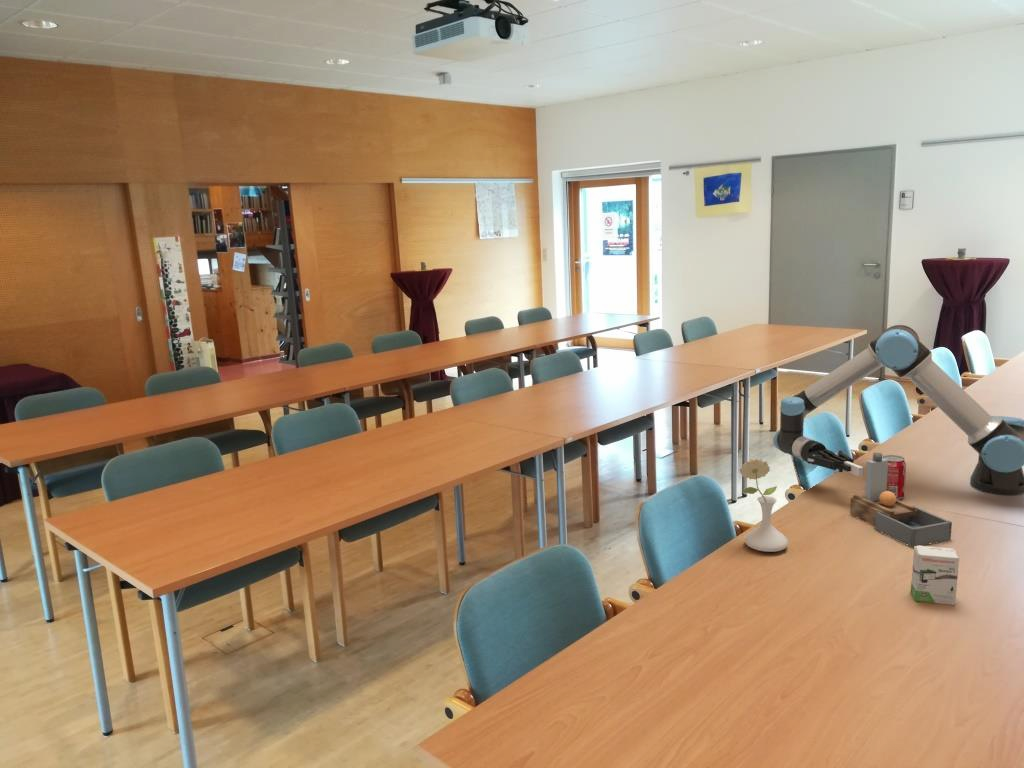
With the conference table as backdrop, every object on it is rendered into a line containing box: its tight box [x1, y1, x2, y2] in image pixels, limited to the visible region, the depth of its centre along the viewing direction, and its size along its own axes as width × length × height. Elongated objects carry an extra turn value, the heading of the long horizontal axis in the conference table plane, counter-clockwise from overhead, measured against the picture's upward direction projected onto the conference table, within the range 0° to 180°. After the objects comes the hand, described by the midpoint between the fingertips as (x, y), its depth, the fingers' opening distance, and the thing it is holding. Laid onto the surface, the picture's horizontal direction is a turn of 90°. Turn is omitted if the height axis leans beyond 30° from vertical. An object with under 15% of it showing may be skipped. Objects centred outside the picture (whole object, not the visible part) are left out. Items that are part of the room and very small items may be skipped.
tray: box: [874, 504, 953, 548], centre depth 210 cm, size 14×13×5 cm
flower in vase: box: [738, 458, 789, 553], centre depth 205 cm, size 13×11×25 cm
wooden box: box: [849, 493, 918, 527], centre depth 220 cm, size 15×10×6 cm, turn 16°
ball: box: [879, 491, 896, 506], centre depth 218 cm, size 4×4×4 cm
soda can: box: [882, 454, 907, 501], centre depth 237 cm, size 7×7×13 cm
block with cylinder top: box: [864, 452, 888, 502], centre depth 221 cm, size 2×6×14 cm, turn 106°
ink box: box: [910, 545, 960, 606], centre depth 175 cm, size 9×5×12 cm, turn 72°
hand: (860, 471), depth 227 cm, fingers closed
